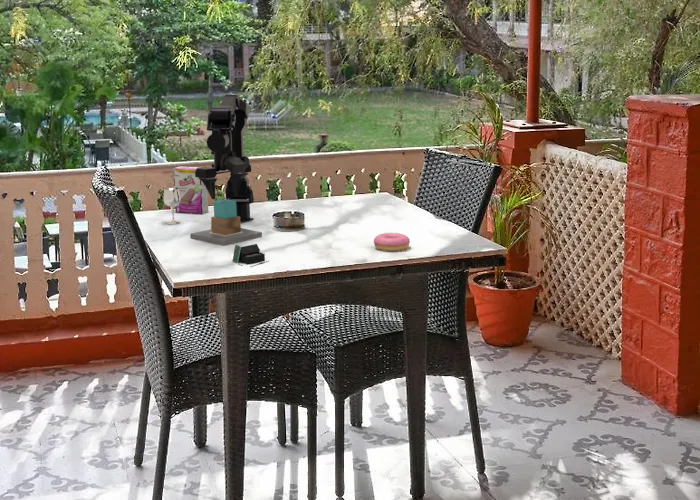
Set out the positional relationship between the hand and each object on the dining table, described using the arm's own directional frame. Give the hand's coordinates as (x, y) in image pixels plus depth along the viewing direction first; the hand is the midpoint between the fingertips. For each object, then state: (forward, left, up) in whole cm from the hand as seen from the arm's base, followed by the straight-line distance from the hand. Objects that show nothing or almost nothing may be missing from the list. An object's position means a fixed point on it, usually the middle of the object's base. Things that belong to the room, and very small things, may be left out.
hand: (224, 197), depth 301 cm
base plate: (0, 0, -13) cm, 13 cm away
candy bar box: (-19, -41, -13) cm, 47 cm away
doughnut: (-23, +49, -13) cm, 56 cm away
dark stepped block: (+16, +29, -14) cm, 36 cm away
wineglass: (-3, -31, -13) cm, 34 cm away
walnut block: (0, 0, -11) cm, 11 cm away
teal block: (0, 0, -6) cm, 6 cm away
